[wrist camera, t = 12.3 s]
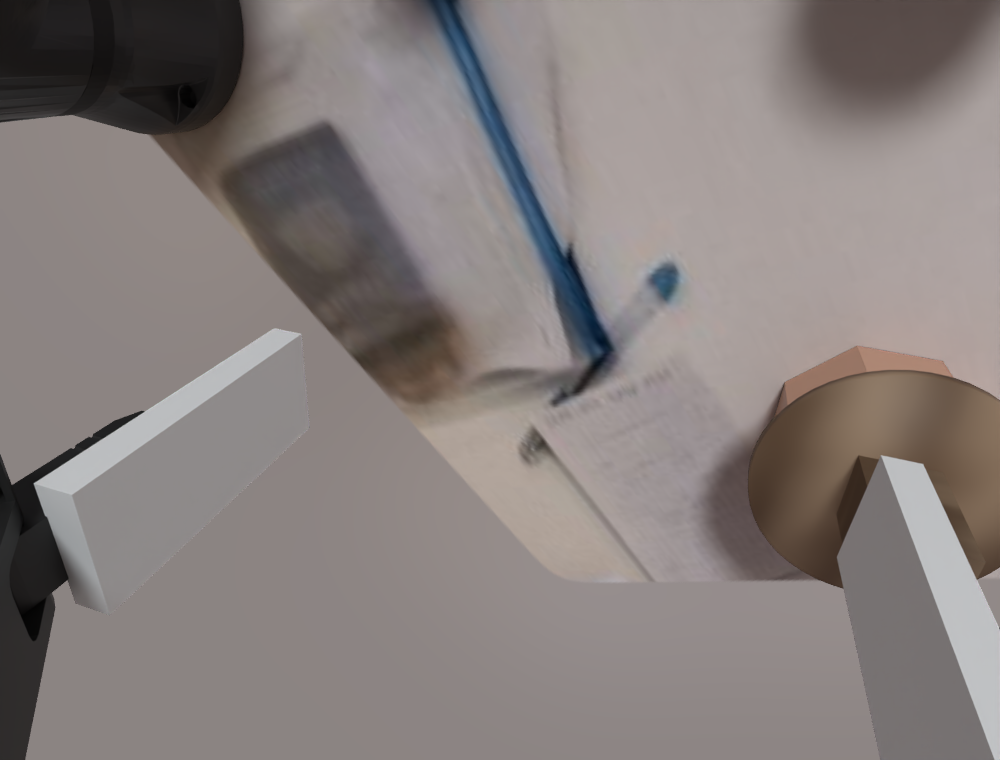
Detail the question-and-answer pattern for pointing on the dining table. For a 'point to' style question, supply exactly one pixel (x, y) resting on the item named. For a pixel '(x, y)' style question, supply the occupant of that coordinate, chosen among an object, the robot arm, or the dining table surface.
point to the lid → (854, 456)
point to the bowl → (855, 370)
